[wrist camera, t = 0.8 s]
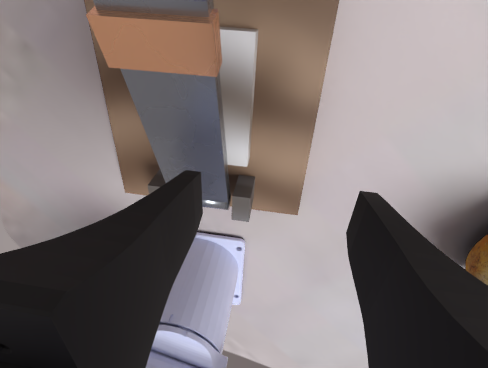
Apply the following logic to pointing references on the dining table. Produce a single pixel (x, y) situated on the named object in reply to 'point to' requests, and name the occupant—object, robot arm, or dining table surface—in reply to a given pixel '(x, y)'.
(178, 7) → the tan and grey block
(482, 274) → the decorative figurine
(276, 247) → the dining table surface
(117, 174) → the dining table surface
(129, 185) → the clamp board
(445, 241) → the dining table surface
